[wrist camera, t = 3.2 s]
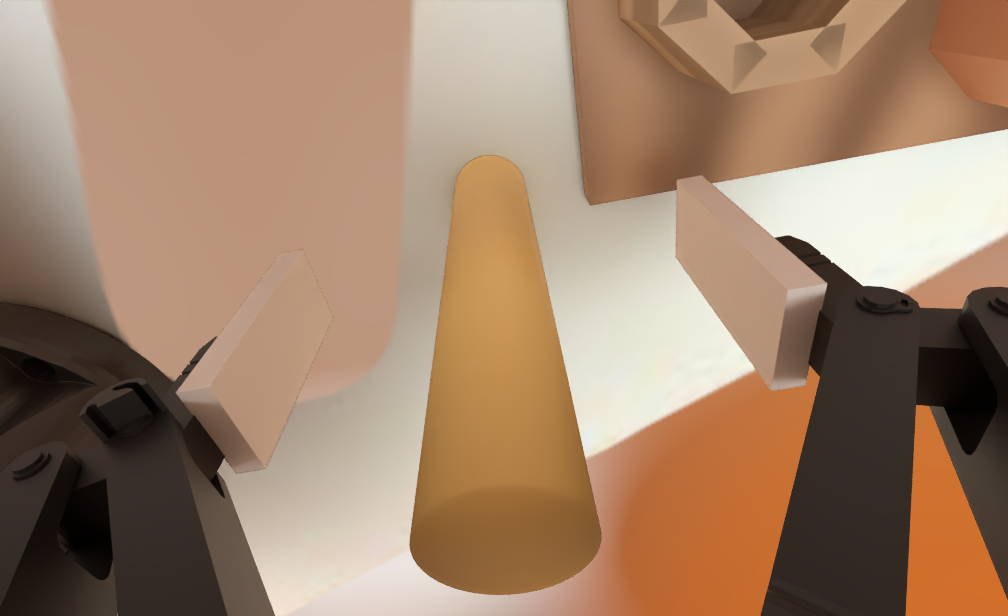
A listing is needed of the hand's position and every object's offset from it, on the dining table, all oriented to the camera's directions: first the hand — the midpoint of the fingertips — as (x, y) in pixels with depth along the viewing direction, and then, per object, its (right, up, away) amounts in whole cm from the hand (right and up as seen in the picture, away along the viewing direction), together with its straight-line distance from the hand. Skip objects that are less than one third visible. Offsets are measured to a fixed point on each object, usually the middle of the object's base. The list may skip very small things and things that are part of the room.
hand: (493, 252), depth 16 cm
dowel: (0, +3, +5) cm, 6 cm away
